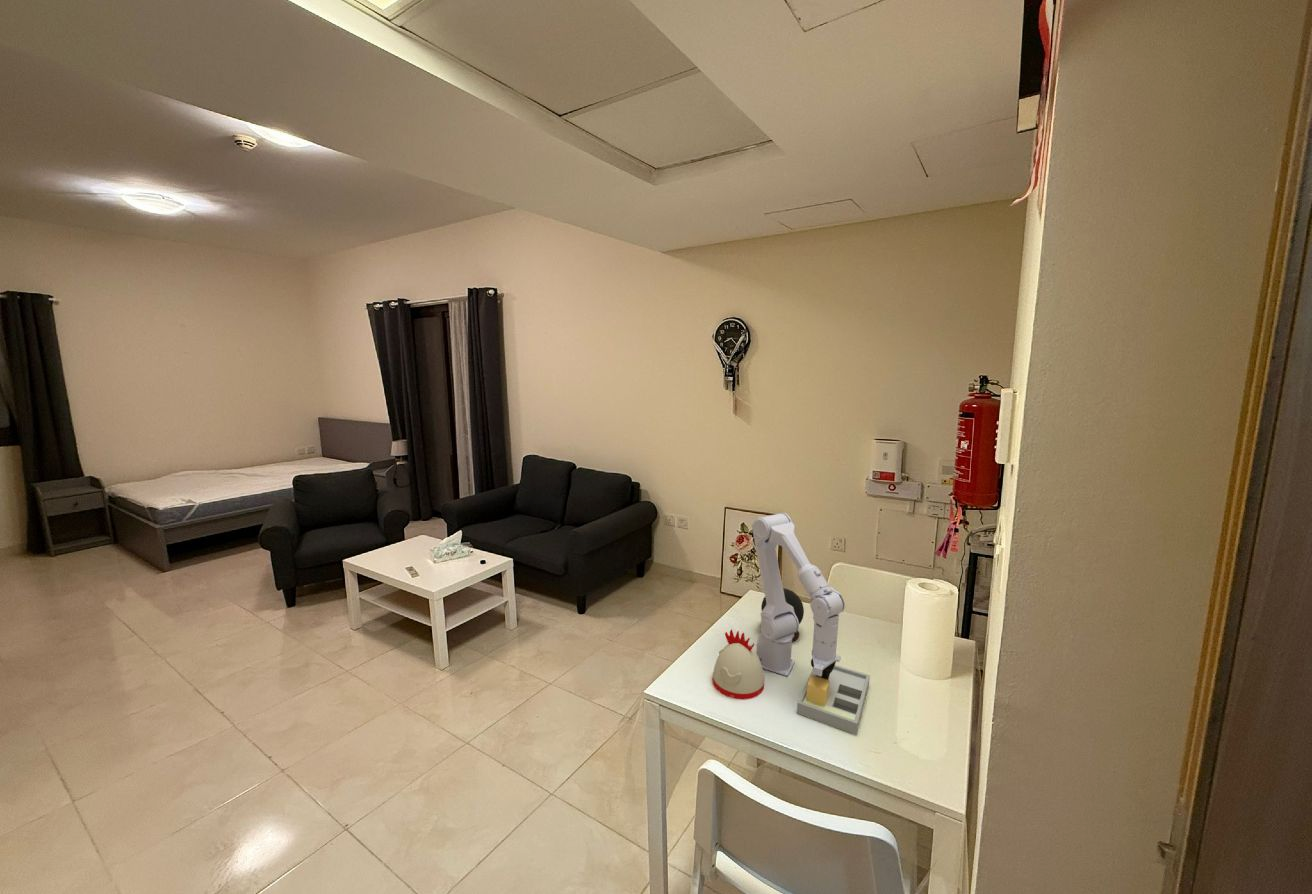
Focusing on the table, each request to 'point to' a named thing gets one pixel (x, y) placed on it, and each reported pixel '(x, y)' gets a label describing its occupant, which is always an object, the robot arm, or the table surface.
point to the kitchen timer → (738, 669)
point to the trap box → (839, 700)
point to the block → (818, 690)
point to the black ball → (795, 603)
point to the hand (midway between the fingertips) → (821, 685)
